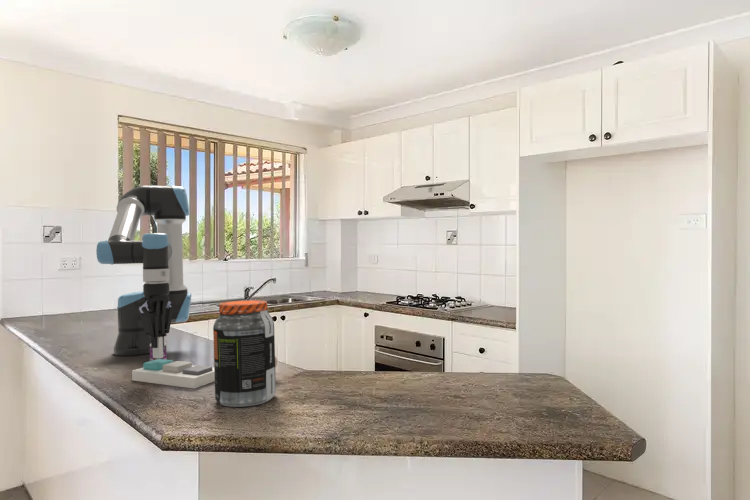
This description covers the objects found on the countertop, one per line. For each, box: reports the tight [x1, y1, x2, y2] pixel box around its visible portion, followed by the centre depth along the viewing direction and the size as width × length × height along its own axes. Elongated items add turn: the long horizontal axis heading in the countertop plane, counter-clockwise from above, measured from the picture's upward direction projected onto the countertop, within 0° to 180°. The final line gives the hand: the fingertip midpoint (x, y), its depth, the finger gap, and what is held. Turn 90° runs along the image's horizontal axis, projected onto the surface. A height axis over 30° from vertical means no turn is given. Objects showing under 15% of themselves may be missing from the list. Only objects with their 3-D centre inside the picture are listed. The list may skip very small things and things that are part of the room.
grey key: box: [163, 360, 193, 373], centre depth 158 cm, size 6×6×3 cm
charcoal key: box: [182, 364, 213, 375], centre depth 154 cm, size 6×6×3 cm
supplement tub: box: [212, 299, 277, 408], centre depth 136 cm, size 16×16×26 cm
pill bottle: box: [149, 341, 168, 361], centre depth 178 cm, size 5×5×10 cm
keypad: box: [131, 364, 215, 389], centre depth 158 cm, size 12×25×3 cm, turn 66°
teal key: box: [142, 359, 174, 371], centre depth 161 cm, size 6×6×3 cm
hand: (158, 357), depth 161 cm, fingers closed
